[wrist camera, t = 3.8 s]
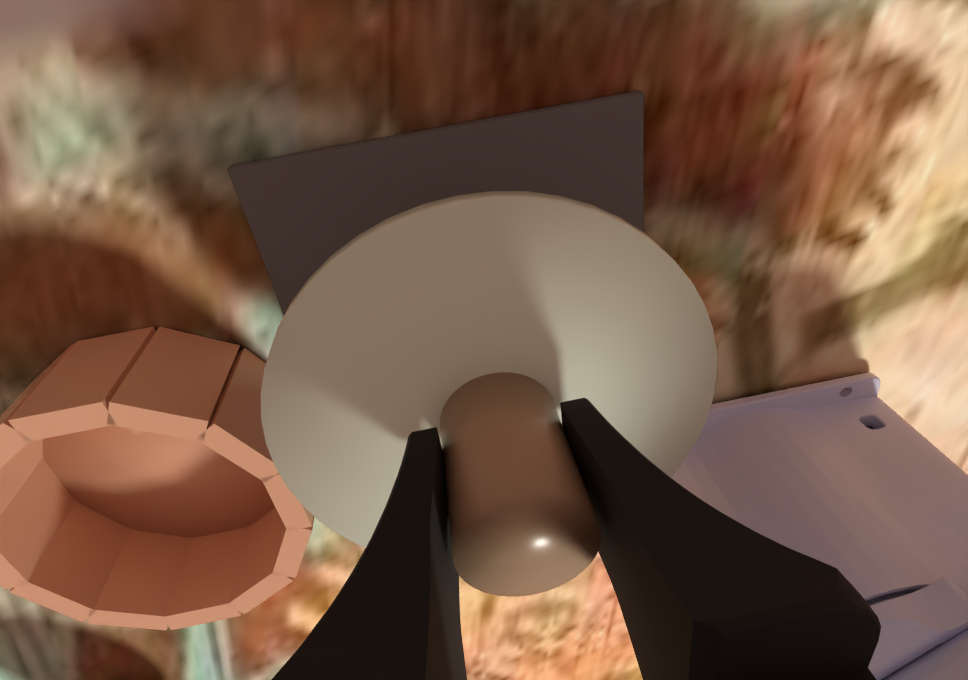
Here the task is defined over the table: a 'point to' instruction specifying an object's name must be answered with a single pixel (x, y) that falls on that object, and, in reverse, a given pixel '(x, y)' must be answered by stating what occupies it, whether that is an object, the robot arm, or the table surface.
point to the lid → (486, 373)
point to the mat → (439, 177)
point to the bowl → (145, 485)
